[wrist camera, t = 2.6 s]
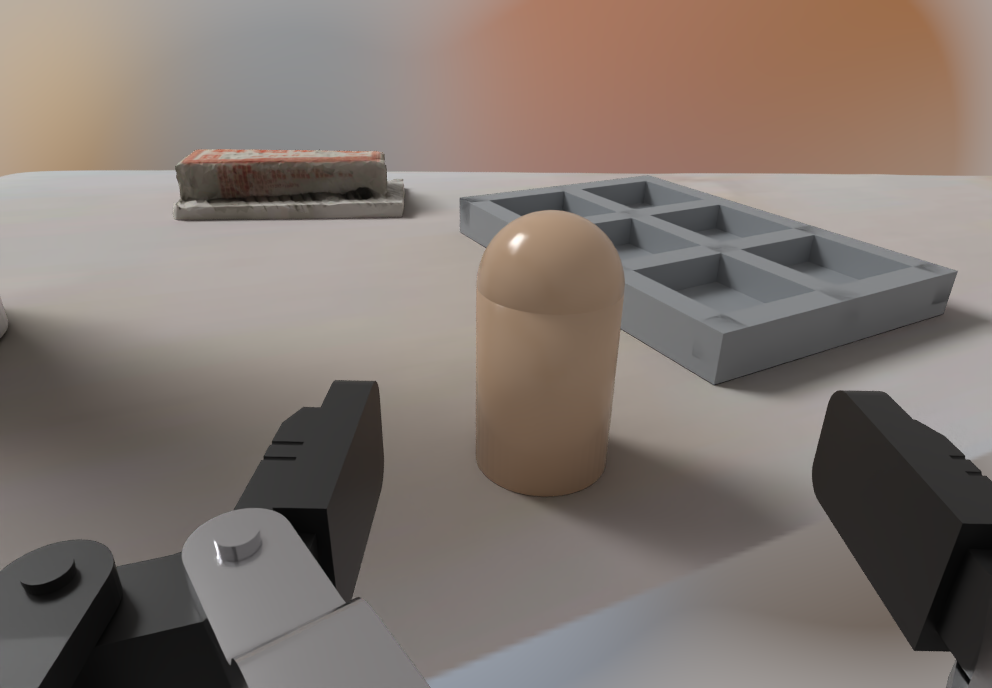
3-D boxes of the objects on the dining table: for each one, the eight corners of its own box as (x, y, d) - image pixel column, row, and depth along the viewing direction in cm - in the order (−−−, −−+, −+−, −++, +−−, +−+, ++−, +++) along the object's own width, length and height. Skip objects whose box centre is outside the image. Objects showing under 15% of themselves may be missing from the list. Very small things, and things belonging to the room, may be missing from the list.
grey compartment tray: (459, 231, 52) (459, 197, 51) (645, 205, 60) (648, 175, 59) (713, 384, 32) (723, 333, 30) (943, 313, 40) (957, 271, 38)
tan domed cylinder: (453, 439, 27) (451, 203, 23) (558, 408, 30) (573, 188, 25) (518, 513, 23) (528, 245, 19) (633, 471, 26) (665, 223, 21)
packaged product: (159, 163, 51) (195, 140, 60) (171, 226, 54) (204, 195, 62) (402, 162, 53) (402, 139, 62) (405, 222, 56) (405, 192, 64)
